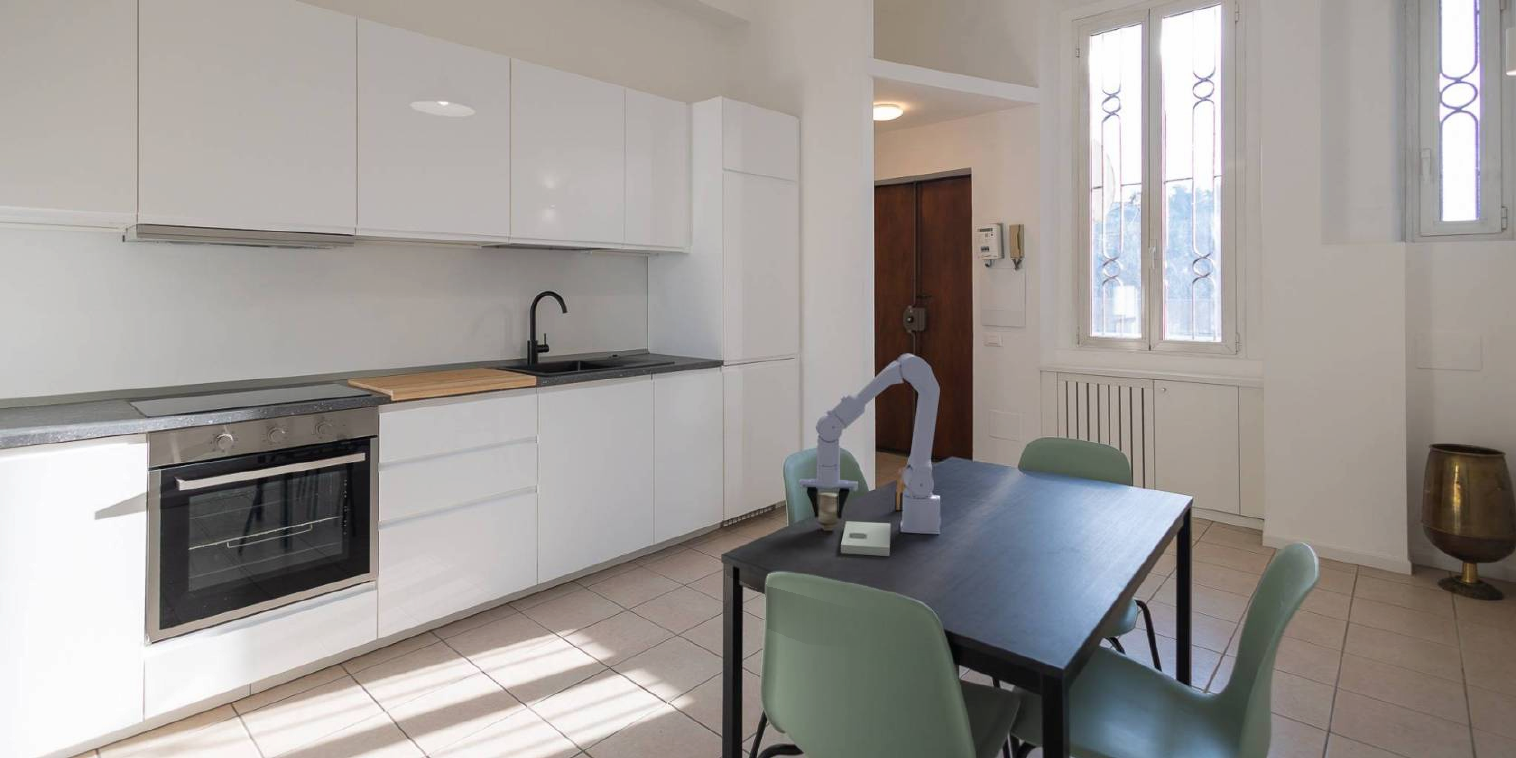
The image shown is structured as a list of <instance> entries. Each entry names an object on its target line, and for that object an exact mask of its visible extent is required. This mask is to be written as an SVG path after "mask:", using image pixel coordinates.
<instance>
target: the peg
mask: <svg viewBox="0 0 1516 758" xmlns="http://www.w3.org/2000/svg"><path fill="white" fill-rule="evenodd" d="M838 511H839V494H837V493H835V492H822V493H818V517H817V523H818V524H819V525H821V527H822V530H823V531H825V532H831V531H834V528H835V526H836V525H838V524H839V519H838Z"/></svg>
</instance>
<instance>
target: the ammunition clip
mask: <svg viewBox="0 0 1516 758" xmlns="http://www.w3.org/2000/svg"><path fill="white" fill-rule="evenodd" d="M906 466H907V464H906V465H905V466H902V468H901V467H899V468H898V471H897V481H896V491H895V495H894V497H895V498H894V510H895V511H897V510H898V512H902V510H903V491H904V489H905V487H906V485H905V484H904V482H903V480H902V473H903V471H904V469H905V468H906Z"/></svg>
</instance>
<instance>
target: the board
mask: <svg viewBox="0 0 1516 758" xmlns="http://www.w3.org/2000/svg"><path fill="white" fill-rule="evenodd" d="M843 529H844V530H843V534H842V539H841V542H840V554H850V555H870V556H884V557H891V556H890V553H891V552H890V551H891V550H890V548H891V523H887V522H868V521H866V522H865V521H851V520H850V521H849V520H848V521H847V520H846V521H845V525H844V528H843Z"/></svg>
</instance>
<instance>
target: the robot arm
mask: <svg viewBox="0 0 1516 758" xmlns="http://www.w3.org/2000/svg"><path fill="white" fill-rule="evenodd" d="M903 379H904V380H905V381H907V382H908V383H910V385H911V386H912V387H913V388H914V389H915V391H916V392H917V393H918V396H917V397H918V398H917V403H916V405H917V406H916V412H915V420H914V426H913V433H912V435H913V436H912V441H911V442H912V443H911V450H910V454H909V456H908V459H907V463H906V465H907V466H906V465H905V467H906V468H905V467H904V468H905V469H904V471H903V473H902V480H903V482H904V484H905V485H906V487H905V489H904V491H903V511H901V512H902V513H901V515H902V519H901V521H900V533H905V534H906V533H907V534H908V533H909V534H910V533H911V534H927V535H930V534H931V535H940V534H941V525H942V517H941V496H940V495H936V494H933V490H934V488H935V483H934V479H933V466H932V459H931V458H932V452H933V445H934V438H935V431H936V430H935V429H936V423H937V415H938V407H939V400H940V394H941V393H940V392H941V389H940V388H941V387H940V386H939V383H938V381H937V379H936V377H935V375H934V372H933V370H932V366H931V365H929V363H928V362H926V361H925V360H924V359H923V358H922V357H919V356H916V355H915V354H913V353H903V354H900V356H898V357H897V359H896V360H893V361H892V362H890V363H889V364H888V365H886V366H885V367H884V369H882V370H881V371H880V372H879V373H878V374H877V375H876V376H875V377H874V378H872V380H871V381H870V382H869V383H868V384H866V386H864V387H863V388H862V390H860V391H859V392H858V393H857V394H849V395H847V396H842V397H841V398H840V402H839V403H838V404H837V405H836V406H835V407H834V408H832V410H827V411H826V415H823V416H820V417H819V419H818V421H817V423H816V425H815V429H816V433H817V434H818V435H817V442H816V443H817V446H816V478H805V479H804V478H802V479H801V478H800V479H799V481H798V482H799V483H798V484H799V485H798V486H799V487H798V488H799V489H806V494H807V497H808V499H809V501H810V503H811V506H812V509H813V513H814V514H813V516H814V518H818V495H819V489H820V490H821V489H822V490H839V491H838V520H839V519H840V520H841V519H842V516H843V509H844V506H845V503H846V501H847V499H848V497H849V495H850V491H853V492H856V491H858V490H859V489H858V487H859V486H858V485H859V483H858V481H855V480H846V479H841V475H840V473H841V446H840V438H841V436H842V433H843V430H844V429H845V430H846V429H848V427H849V426H851V425H852V424H853V423H854V422H855V421H856V420H858V419H859V418H860V417H861V416H862V415H863V414H864V413H865V410H866V404H869V402H871V401H872V400H874V398H876V397H877V396H878V395H879V394H881V393H882V392H883V391H885V390H886V389H887V388H888V387H889V386H891V385H896V384H898V385H899V384H904V380H903Z"/></svg>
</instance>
